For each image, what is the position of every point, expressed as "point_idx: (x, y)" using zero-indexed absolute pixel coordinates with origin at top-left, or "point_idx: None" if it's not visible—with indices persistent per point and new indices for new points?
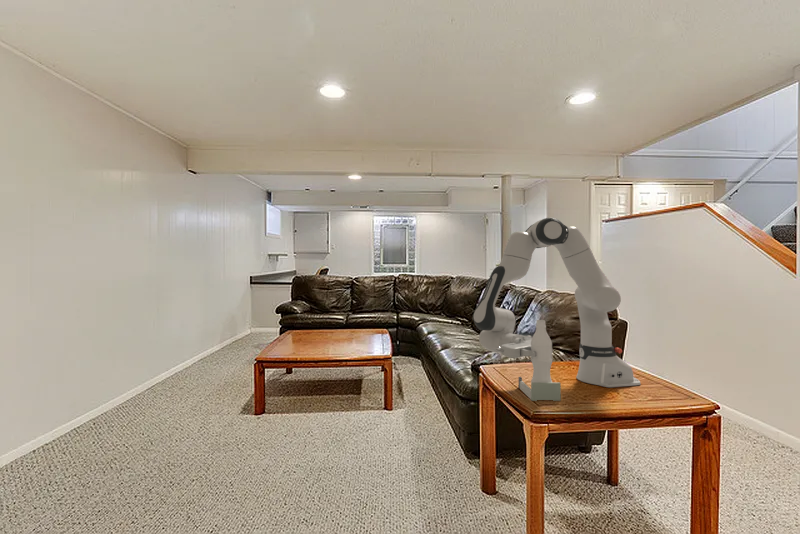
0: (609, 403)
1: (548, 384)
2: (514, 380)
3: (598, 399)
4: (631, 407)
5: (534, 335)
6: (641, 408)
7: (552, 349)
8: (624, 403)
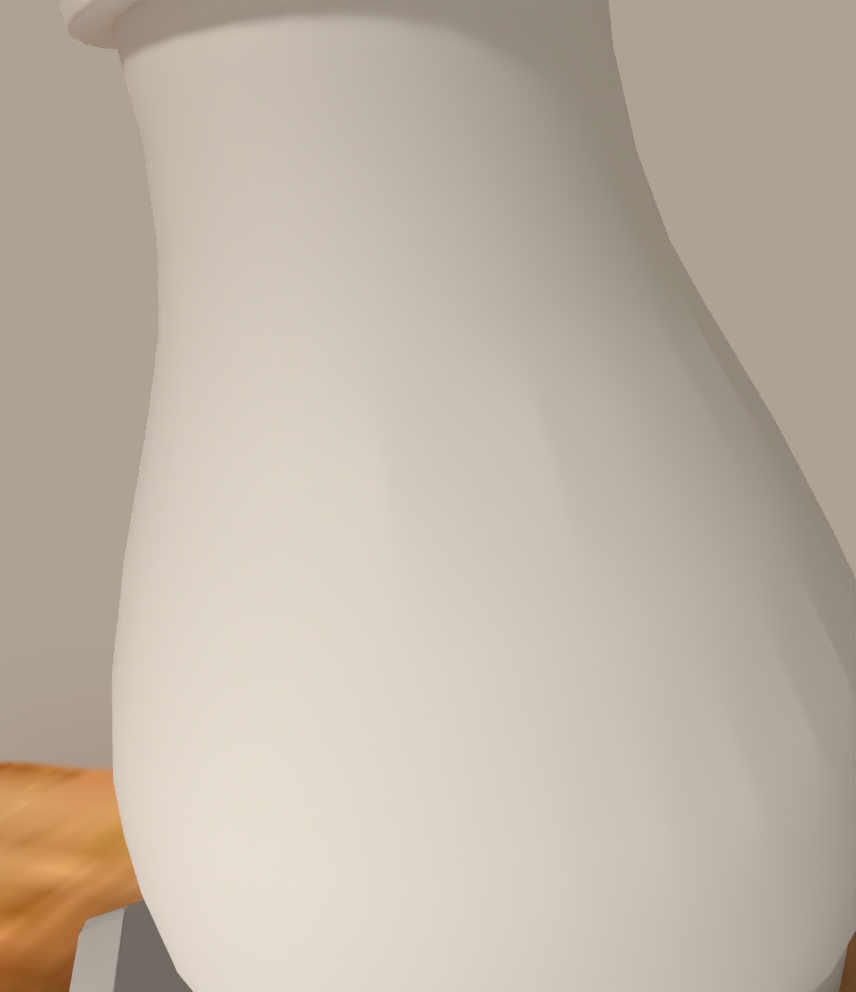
0: (98, 871)
1: None
2: None
3: (70, 977)
4: (57, 785)
5: (748, 380)
6: (26, 765)
7: (103, 919)
8: (4, 854)
